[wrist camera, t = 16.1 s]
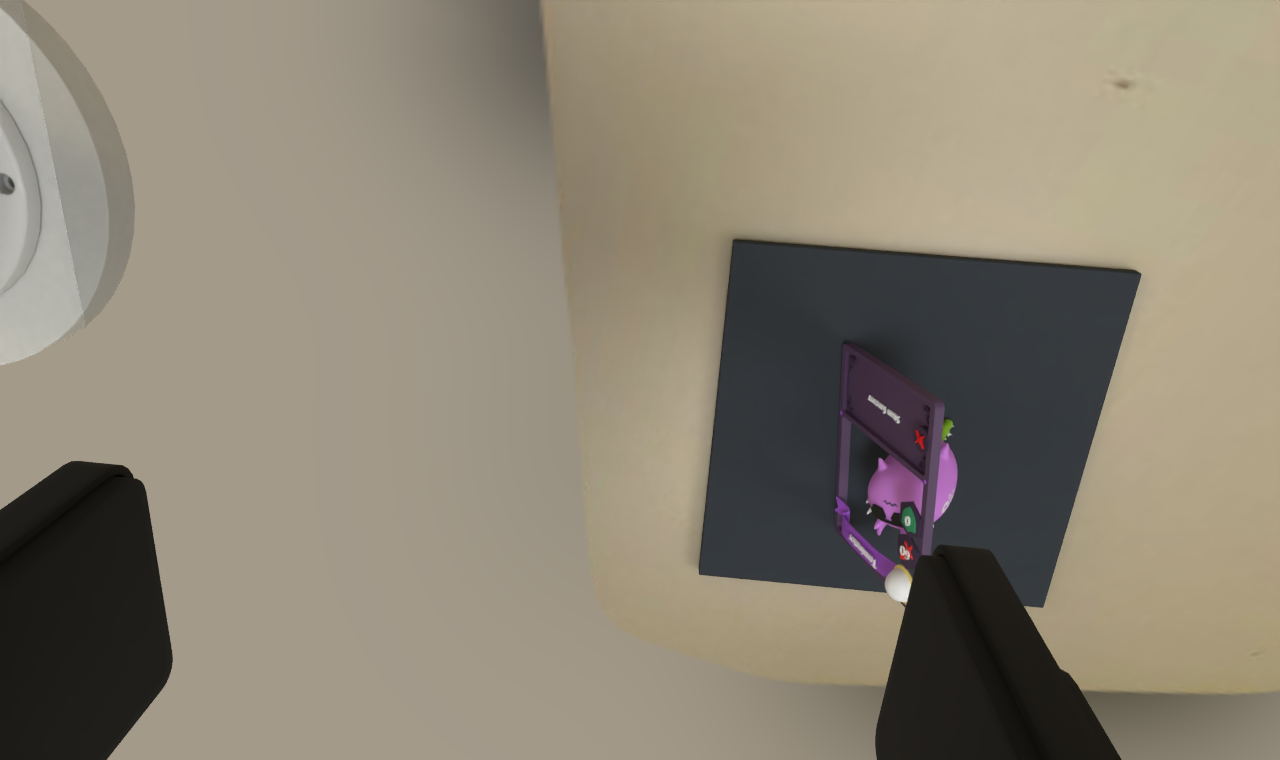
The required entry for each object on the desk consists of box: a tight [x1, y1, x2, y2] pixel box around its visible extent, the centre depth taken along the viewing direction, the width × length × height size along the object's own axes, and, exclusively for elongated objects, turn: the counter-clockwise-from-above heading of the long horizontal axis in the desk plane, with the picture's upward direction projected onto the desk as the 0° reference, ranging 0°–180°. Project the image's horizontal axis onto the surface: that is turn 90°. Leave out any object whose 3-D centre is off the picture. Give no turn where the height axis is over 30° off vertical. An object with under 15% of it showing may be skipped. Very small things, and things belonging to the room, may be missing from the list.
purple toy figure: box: [834, 343, 957, 608], centre depth 35 cm, size 7×5×9 cm
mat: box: [699, 240, 1141, 608], centre depth 37 cm, size 16×16×1 cm
